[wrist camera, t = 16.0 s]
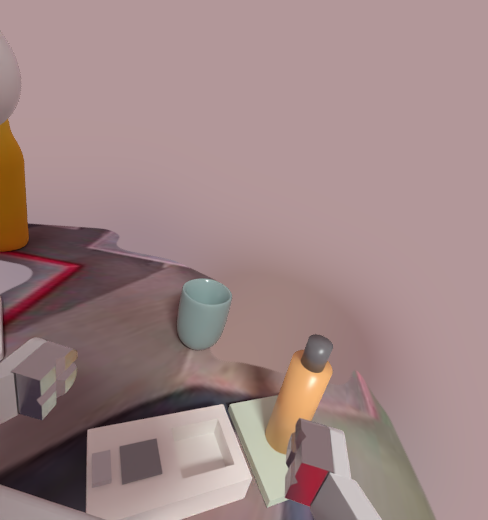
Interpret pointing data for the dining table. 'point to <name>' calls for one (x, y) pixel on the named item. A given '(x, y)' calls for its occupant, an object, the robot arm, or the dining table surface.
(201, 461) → the white bottle holder
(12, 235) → the beer bottle
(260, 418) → the mat
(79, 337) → the dining table surface
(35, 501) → the robot arm
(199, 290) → the cup
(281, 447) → the orange capped bottle
